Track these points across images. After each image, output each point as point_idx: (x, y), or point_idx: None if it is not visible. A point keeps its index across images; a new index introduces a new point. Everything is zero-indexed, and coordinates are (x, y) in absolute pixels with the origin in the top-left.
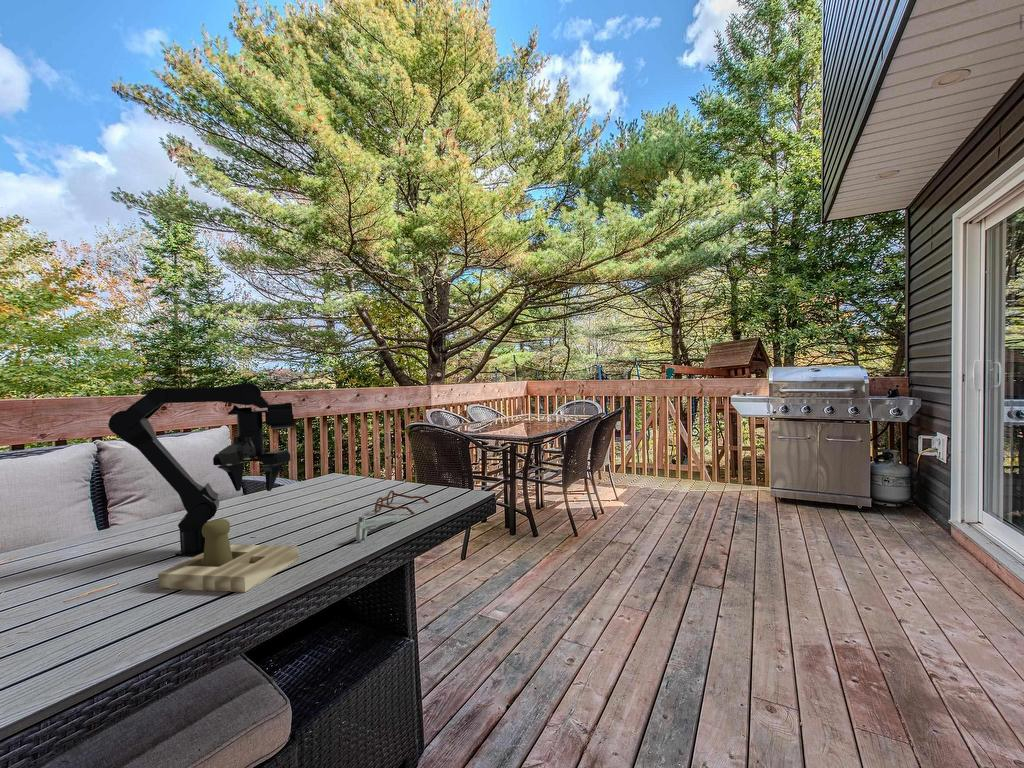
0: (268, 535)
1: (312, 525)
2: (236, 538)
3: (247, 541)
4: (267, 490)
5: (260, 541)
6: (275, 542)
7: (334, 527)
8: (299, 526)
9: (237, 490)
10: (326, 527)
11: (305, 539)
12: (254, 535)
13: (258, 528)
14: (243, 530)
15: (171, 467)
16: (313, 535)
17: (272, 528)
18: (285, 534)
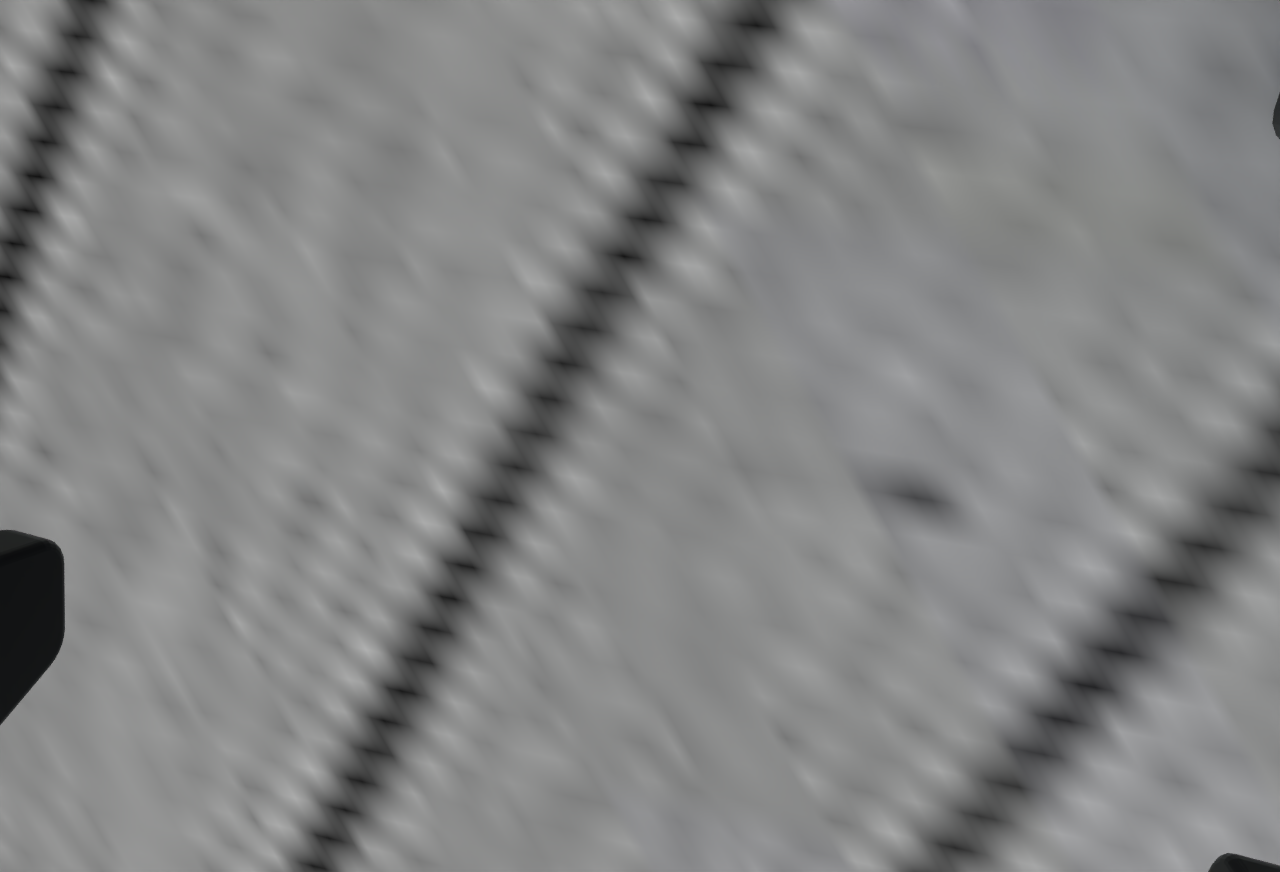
0: (713, 532)
1: (331, 800)
2: (1159, 489)
3: (898, 326)
4: (19, 532)
5: (692, 297)
6: (447, 224)
7: None
8: (478, 802)
9: (1228, 867)
10: (118, 687)
11: (116, 287)
12: (931, 571)
13: (1034, 858)
14: (1237, 825)
15: None
16: (105, 423)
17: (816, 810)
18: (491, 528)
